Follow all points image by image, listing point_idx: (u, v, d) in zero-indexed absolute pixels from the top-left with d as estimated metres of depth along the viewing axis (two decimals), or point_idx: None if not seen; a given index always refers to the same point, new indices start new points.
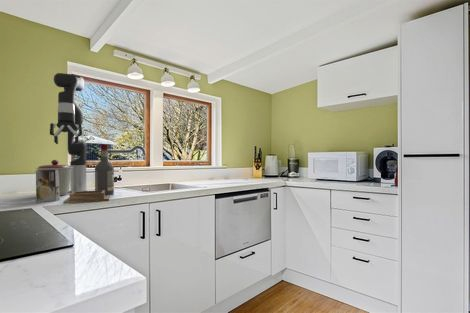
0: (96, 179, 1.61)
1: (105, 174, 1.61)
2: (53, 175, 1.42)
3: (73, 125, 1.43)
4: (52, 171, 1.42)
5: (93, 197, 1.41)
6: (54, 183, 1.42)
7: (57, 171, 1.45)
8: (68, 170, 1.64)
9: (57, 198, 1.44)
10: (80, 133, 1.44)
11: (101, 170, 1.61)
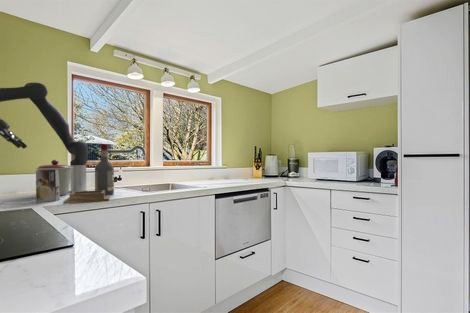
0: (96, 179, 1.61)
1: (105, 174, 1.61)
2: (53, 175, 1.42)
3: None
4: (52, 171, 1.42)
5: (93, 197, 1.41)
6: (54, 183, 1.42)
7: (57, 171, 1.45)
8: (68, 170, 1.64)
9: (57, 198, 1.44)
10: None
11: (101, 170, 1.61)
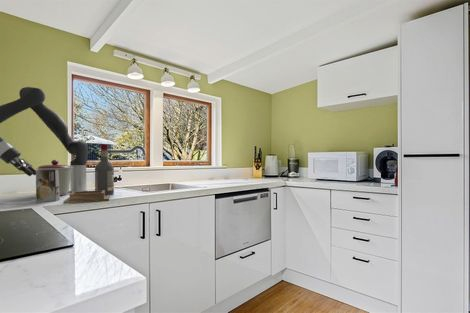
0: (96, 179, 1.61)
1: (105, 174, 1.61)
2: (53, 175, 1.42)
3: None
4: (52, 171, 1.42)
5: (93, 197, 1.41)
6: (54, 183, 1.42)
7: (57, 171, 1.45)
8: (68, 170, 1.64)
9: (57, 198, 1.44)
10: None
11: (101, 170, 1.61)
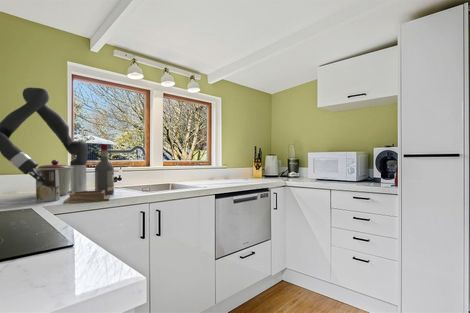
0: (96, 179, 1.61)
1: (105, 174, 1.61)
2: (53, 175, 1.42)
3: None
4: (52, 171, 1.42)
5: (93, 197, 1.41)
6: (54, 183, 1.42)
7: (57, 171, 1.45)
8: (68, 170, 1.64)
9: (57, 198, 1.44)
10: None
11: (101, 170, 1.61)
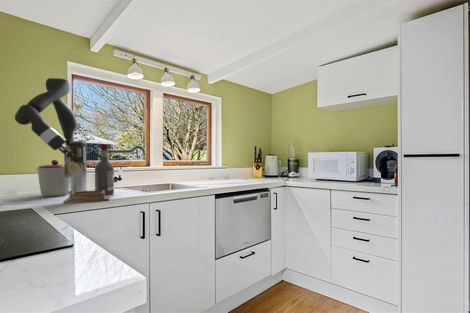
0: (96, 179, 1.61)
1: (105, 174, 1.61)
2: (81, 152, 1.43)
3: None
4: (80, 147, 1.43)
5: (93, 197, 1.41)
6: (82, 159, 1.43)
7: (84, 148, 1.46)
8: None
9: (84, 174, 1.45)
10: (66, 155, 1.38)
11: (101, 170, 1.61)
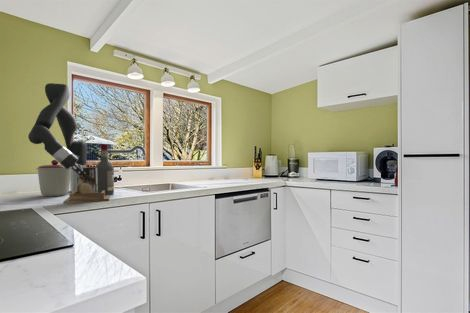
0: None
1: (105, 174, 1.61)
2: (93, 173, 1.44)
3: None
4: (92, 169, 1.44)
5: (93, 197, 1.41)
6: (94, 180, 1.44)
7: (96, 169, 1.47)
8: (68, 170, 1.64)
9: None
10: (79, 174, 1.39)
11: (101, 170, 1.61)
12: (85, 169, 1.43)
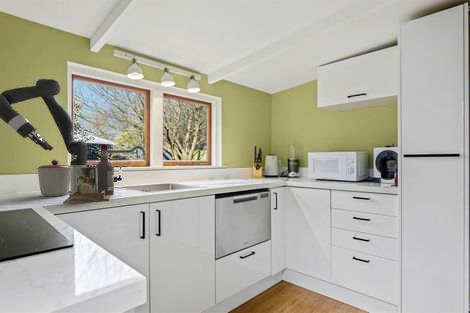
0: None
1: (105, 174, 1.61)
2: (93, 173, 1.44)
3: None
4: (92, 169, 1.44)
5: (93, 197, 1.41)
6: (94, 180, 1.44)
7: (96, 169, 1.47)
8: (68, 170, 1.64)
9: None
10: None
11: (101, 170, 1.61)
12: (85, 169, 1.43)
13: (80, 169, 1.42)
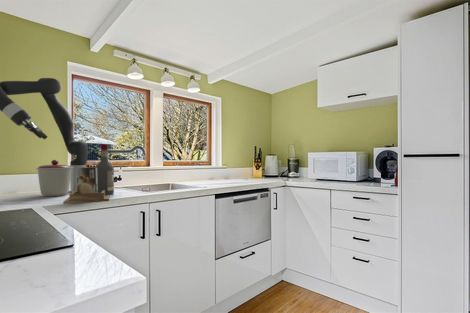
0: None
1: (105, 174, 1.61)
2: (93, 173, 1.44)
3: None
4: (92, 169, 1.44)
5: (93, 197, 1.41)
6: (94, 180, 1.44)
7: (96, 169, 1.47)
8: (68, 170, 1.64)
9: None
10: (29, 130, 1.36)
11: (101, 170, 1.61)
12: (85, 169, 1.43)
13: (80, 169, 1.42)
